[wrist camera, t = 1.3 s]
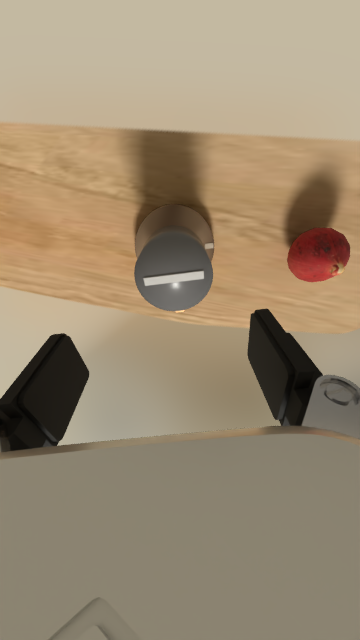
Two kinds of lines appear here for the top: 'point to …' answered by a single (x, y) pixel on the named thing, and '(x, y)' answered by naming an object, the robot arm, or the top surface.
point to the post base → (175, 216)
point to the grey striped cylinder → (173, 269)
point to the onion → (318, 254)
